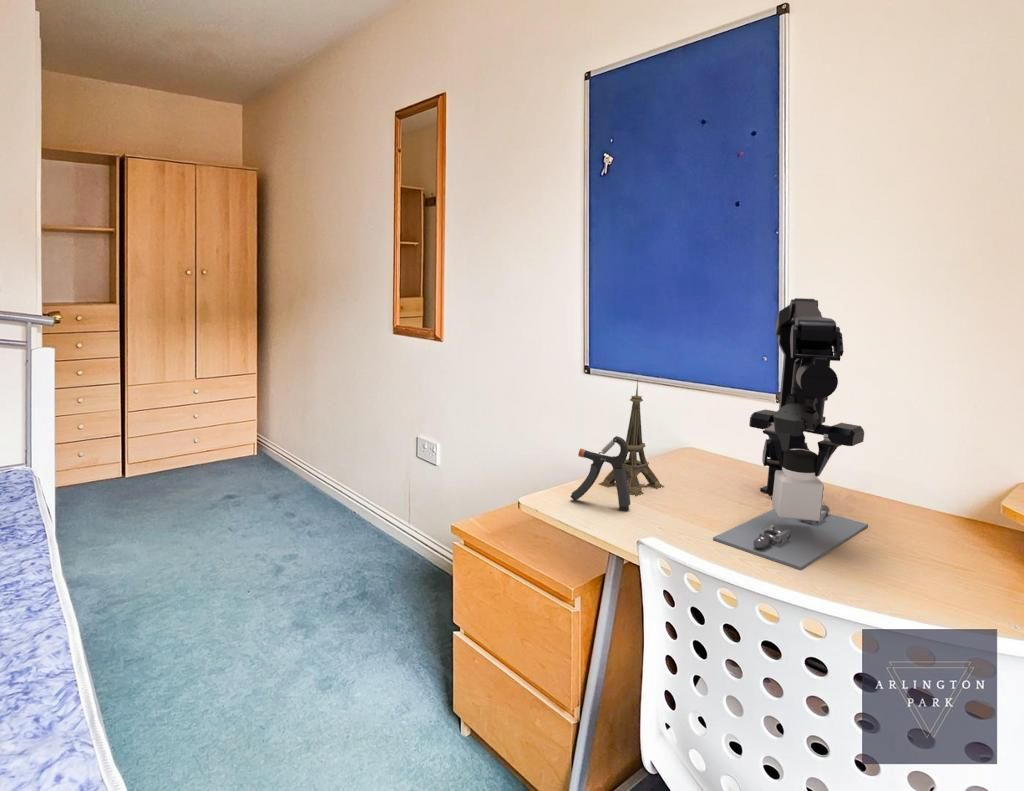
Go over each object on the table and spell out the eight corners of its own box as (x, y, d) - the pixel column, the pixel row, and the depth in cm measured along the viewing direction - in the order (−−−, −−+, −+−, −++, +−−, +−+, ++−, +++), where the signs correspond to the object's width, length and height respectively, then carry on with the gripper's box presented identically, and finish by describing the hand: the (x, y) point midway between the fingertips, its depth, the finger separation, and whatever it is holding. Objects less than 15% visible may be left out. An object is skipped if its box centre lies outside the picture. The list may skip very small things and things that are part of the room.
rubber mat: (787, 504, 138) (787, 502, 138) (868, 526, 126) (868, 524, 126) (712, 539, 118) (713, 537, 118) (800, 569, 106) (800, 567, 106)
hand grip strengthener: (572, 498, 138) (575, 430, 136) (630, 508, 133) (634, 437, 130) (569, 502, 136) (572, 432, 134) (627, 512, 131) (631, 440, 128)
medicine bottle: (820, 521, 118) (827, 458, 115) (778, 518, 119) (785, 454, 117) (810, 508, 124) (817, 447, 122) (771, 504, 126) (777, 445, 124)
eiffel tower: (626, 476, 156) (633, 373, 151) (664, 487, 148) (671, 379, 144) (598, 484, 149) (604, 376, 144) (636, 496, 141) (643, 383, 137)
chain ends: (816, 510, 133) (817, 501, 133) (834, 515, 131) (835, 506, 130) (746, 547, 114) (747, 536, 113) (766, 554, 111) (767, 543, 111)
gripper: (738, 386, 119) (731, 468, 122) (845, 402, 105) (834, 494, 108) (767, 380, 126) (759, 458, 129) (870, 395, 113) (859, 481, 116)
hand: (799, 471), depth 120 cm, fingers closed on medicine bottle, 6 cm apart
